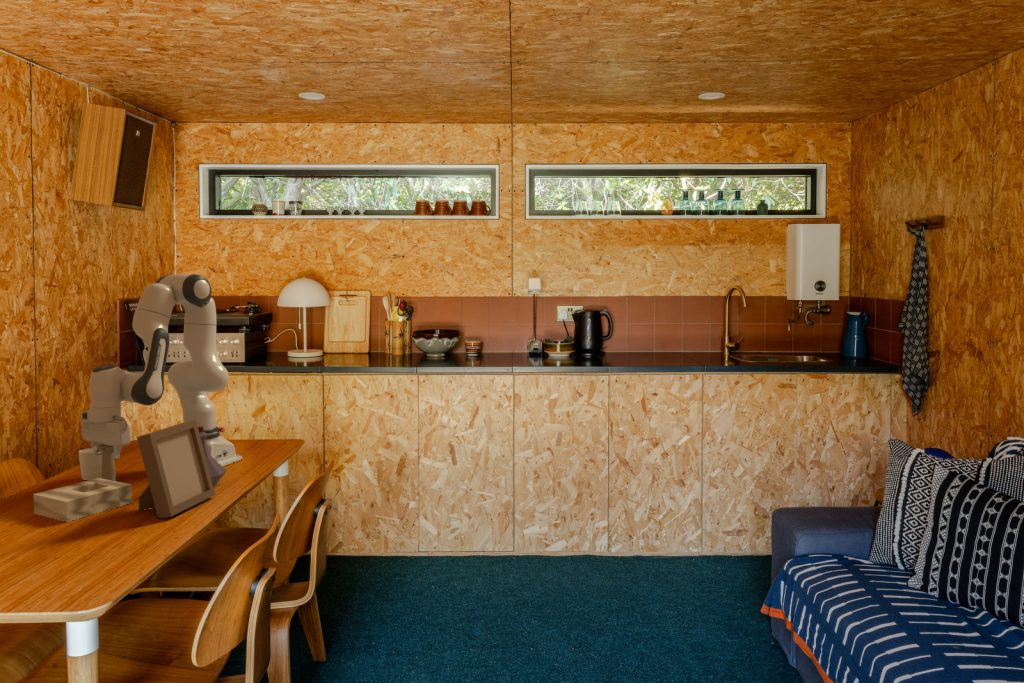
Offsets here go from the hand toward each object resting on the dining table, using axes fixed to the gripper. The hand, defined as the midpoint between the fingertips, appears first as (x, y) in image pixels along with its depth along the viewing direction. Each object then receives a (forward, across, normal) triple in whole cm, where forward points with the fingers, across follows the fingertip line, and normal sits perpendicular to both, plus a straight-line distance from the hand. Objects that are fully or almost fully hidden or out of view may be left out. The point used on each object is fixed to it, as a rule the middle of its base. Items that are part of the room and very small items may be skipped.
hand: (106, 456), depth 237 cm
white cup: (+11, +18, -7) cm, 22 cm away
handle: (+12, 0, -1) cm, 12 cm away
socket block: (+12, -12, +15) cm, 23 cm away
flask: (+11, -22, -19) cm, 31 cm away
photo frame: (+12, -34, +2) cm, 36 cm away
